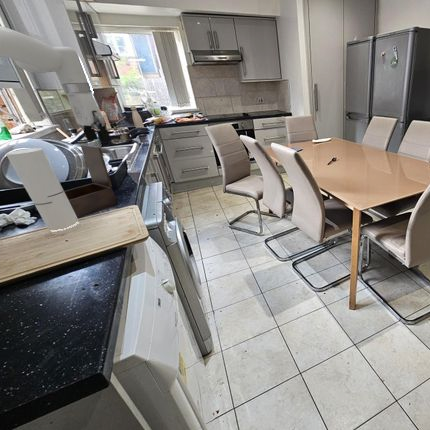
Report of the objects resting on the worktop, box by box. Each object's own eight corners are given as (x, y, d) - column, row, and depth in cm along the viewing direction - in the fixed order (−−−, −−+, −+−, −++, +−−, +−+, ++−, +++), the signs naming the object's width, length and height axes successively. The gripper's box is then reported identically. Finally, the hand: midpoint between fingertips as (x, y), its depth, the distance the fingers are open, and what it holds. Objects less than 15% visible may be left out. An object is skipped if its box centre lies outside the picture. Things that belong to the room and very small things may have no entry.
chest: (77, 218, 92) (68, 200, 89) (60, 211, 98) (51, 194, 95) (118, 204, 102) (111, 187, 99) (100, 198, 108) (93, 182, 105)
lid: (98, 147, 93) (113, 146, 97) (80, 145, 99) (95, 143, 103) (110, 186, 99) (124, 183, 102) (92, 182, 105) (106, 179, 108)
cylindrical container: (85, 229, 85) (46, 149, 74) (57, 239, 79) (9, 155, 68) (76, 223, 88) (37, 147, 77) (48, 233, 83) (2, 152, 72)
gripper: (53, 90, 92) (76, 141, 100) (76, 89, 84) (100, 145, 92) (79, 89, 98) (99, 137, 106) (103, 88, 90) (123, 140, 98)
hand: (99, 141), depth 99 cm, fingers open, 9 cm apart
